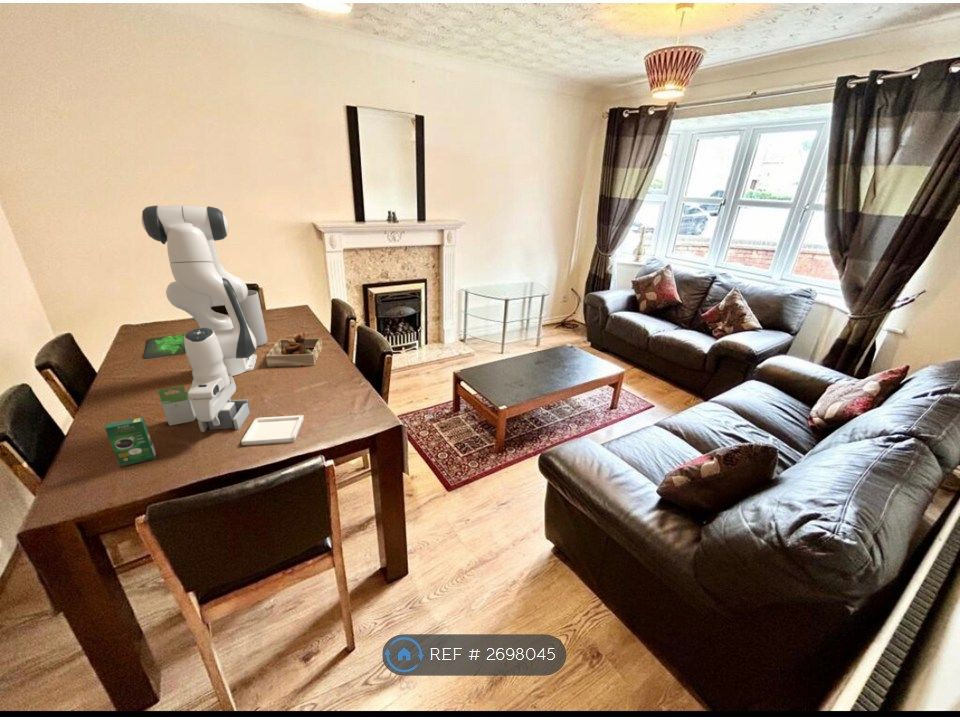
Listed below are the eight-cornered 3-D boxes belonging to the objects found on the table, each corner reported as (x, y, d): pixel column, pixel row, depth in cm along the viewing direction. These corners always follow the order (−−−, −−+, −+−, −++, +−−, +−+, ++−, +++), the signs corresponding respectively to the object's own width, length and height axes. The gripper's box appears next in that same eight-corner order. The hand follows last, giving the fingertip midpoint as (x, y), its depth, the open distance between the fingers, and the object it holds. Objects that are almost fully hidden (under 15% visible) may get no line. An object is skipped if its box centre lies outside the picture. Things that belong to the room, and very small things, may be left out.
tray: (256, 421, 129) (255, 417, 128) (304, 418, 131) (303, 415, 131) (242, 445, 117) (241, 441, 116) (294, 441, 120) (293, 437, 119)
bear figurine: (291, 351, 182) (286, 326, 177) (319, 354, 180) (316, 330, 175) (271, 362, 170) (265, 337, 165) (301, 366, 168) (297, 341, 163)
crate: (280, 348, 184) (279, 339, 182) (322, 347, 187) (321, 337, 185) (267, 366, 166) (265, 356, 164) (314, 365, 169) (312, 354, 167)
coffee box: (158, 453, 112) (143, 415, 107) (156, 458, 110) (141, 420, 105) (122, 461, 109) (105, 422, 103) (120, 467, 106) (102, 428, 101)
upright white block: (215, 421, 128) (210, 403, 125) (238, 420, 129) (234, 402, 126) (209, 429, 124) (204, 410, 121) (233, 427, 125) (228, 409, 122)
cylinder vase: (258, 337, 196) (248, 288, 185) (273, 342, 190) (263, 293, 180) (233, 344, 186) (221, 294, 176) (248, 350, 180) (236, 298, 170)
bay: (216, 413, 132) (212, 400, 130) (250, 411, 134) (247, 398, 132) (201, 431, 122) (196, 418, 120) (238, 429, 124) (235, 416, 122)
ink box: (196, 415, 131) (185, 380, 125) (194, 421, 127) (183, 386, 122) (171, 420, 128) (159, 384, 122) (169, 426, 124) (156, 390, 119)
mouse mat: (203, 351, 178) (202, 349, 178) (142, 360, 167) (141, 358, 166) (201, 332, 199) (201, 331, 198) (147, 340, 187) (146, 338, 187)
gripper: (215, 366, 128) (225, 401, 134) (184, 396, 110) (197, 436, 116) (236, 365, 129) (244, 400, 135) (209, 395, 111) (220, 435, 117)
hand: (222, 417), depth 125 cm, fingers open, 6 cm apart
